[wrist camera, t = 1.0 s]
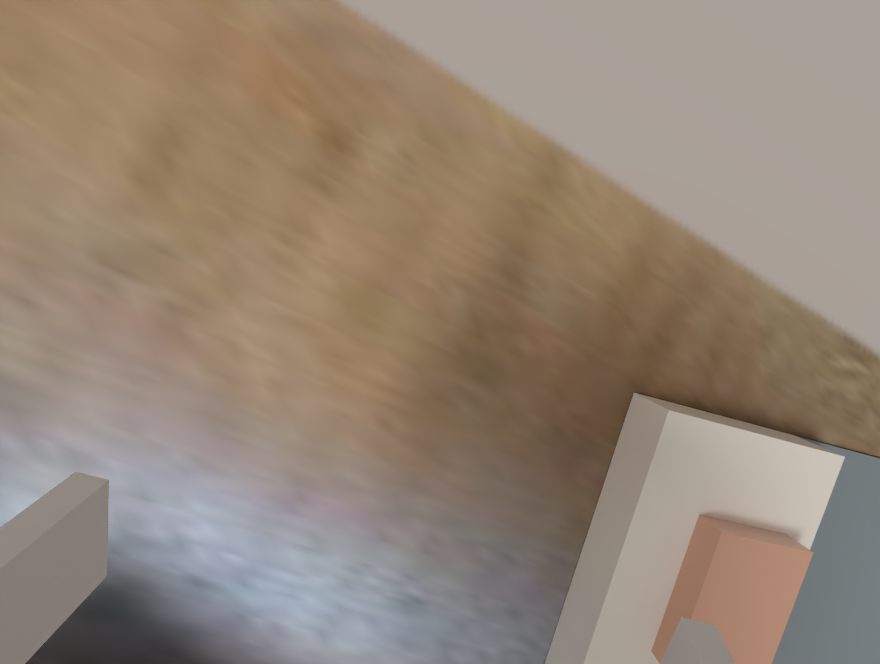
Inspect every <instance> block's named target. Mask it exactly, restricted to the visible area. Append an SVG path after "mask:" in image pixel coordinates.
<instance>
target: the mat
mask: <svg viewBox="0 0 880 664" xmlns="http://www.w3.org/2000/svg"><path fill="white" fill-rule="evenodd" d="M794 436H795V435H794ZM796 437H799V436H796ZM799 438H801V439H804V440H806V441H809V442H811V443H813V444H816V445H818V446H821V447H823V448H825V449H828V450H830V451H833V452H835V453H837V454H840V455H842V456H845V458H844V461H843V464H842V466H841V469H840V472H839V474H838V477H837V480H836V482H835V485H834V487H833V490H832V493H831V495H830V498H829V501H828V503H827V506H826V509H825V511H824V514H823V517H822V519H821V522H820V525H819V527H818V530H817V533H816V535H815V538H814V541H813V543H812V546H811V549H810V551H812V552H814V553H813V555H812V558H811V561H810V563H809V566H808V569H807V571H806V574H805V577H804V579H803V582H802V585H801V587H800V590H799V593H798V595H797V598H796V600H795V603H794V606H793V608H792V611H791V614H790V616H789V619H788V622H787V624H786V627H785V630H784V632H783V635H782V638H781V640H780V643H779V645H778V648H777V651H776V653H775V656H774V659H773V661H772V664H880V458H878V457H874V456H870V455H866V454H863V453H859V452H855V451H851V450H848V449H844V448H840V447H837V446H833V445H829V444H825V443H822V442H818V441H814V440H810V439H807V438H803V437H799Z"/></svg>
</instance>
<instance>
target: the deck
mask: <svg viewBox="0 0 880 664" xmlns="http://www.w3.org/2000/svg"><path fill="white" fill-rule="evenodd" d="M844 458H845V456H842V455H840V454H837V453H835V452H833V451H830V450H828V449H825V448H823V447H821V446H818V445H816V444H813V443H811V442H809V441H806V440H804V439H801V438H799V437H796V436H794V435H792V434H788V433H784V432H780V431H777V430H773V429H769V428H765V427H762V426H758V425H754V424H750V423H747V422H743V421H739V420H735V419H732V418H728V417H724V416H720V415H717V414H713V413H709V412H705V411H702V410H698V409H694V408H690V407H687V406H683V405H679V404H675V403H672V402H668V401H664V400H660V399H657V398H653V397H649V396H645V395H642V394H638V393H633V396H632V400H631V403H630V406H629V409H628V412H627V415H626V418H625V421H624V424H623V427H622V430H621V433H620V436H619V439H618V442H617V445H616V448H615V451H614V454H613V457H612V460H611V463H610V466H609V469H608V472H607V475H606V479H605V482H604V485H603V488H602V491H601V494H600V497H599V500H598V503H597V506H596V509H595V512H594V515H593V518H592V521H591V524H590V527H589V530H588V533H587V536H586V539H585V542H584V545H583V548H582V551H581V554H580V557H579V561H578V564H577V567H576V570H575V573H574V576H573V579H572V582H571V585H570V588H569V591H568V594H567V597H566V600H565V603H564V606H563V609H562V612H561V615H560V618H559V621H558V624H557V627H556V630H555V633H554V636H553V639H552V643H551V646H550V649H549V652H548V655H547V658H546V661H545V664H660V663H659V662H658V660H657V659H656V657H655V656H654V654H653V653H652V652H651V650H652V648H653V645H654V642H655V639H656V636H657V633H658V631H659V628H660V625H661V622H662V619H663V616H664V613H665V611H666V608H667V605H668V602H669V599H670V596H671V594H672V591H673V588H674V585H675V582H676V579H677V576H678V574H679V571H680V568H681V565H682V562H683V559H684V557H685V554H686V551H687V548H688V545H689V542H690V539H691V537H692V534H693V531H694V528H695V525H696V522H697V519H698V517H699V514H701V515H705V516H709V517H714V518H718V519H722V520H727V521H731V522H735V523H740V524H744V525H748V526H753V527H757V528H761V529H766V530H770V531H774V532H779V533H783V534H786V535H788V536H789V537H791V538H792V539H794V540H795V541H797V542H798V543H800V544H801V545H803V546H804V547H806V548H807V549H809V550H810V549H811V546H812V543H813V541H814V538H815V535H816V533H817V530H818V527H819V525H820V522H821V519H822V517H823V514H824V511H825V509H826V506H827V503H828V501H829V498H830V495H831V493H832V490H833V487H834V485H835V482H836V480H837V477H838V474H839V472H840V469H841V466H842V464H843V461H844Z"/></svg>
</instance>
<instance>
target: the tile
mask: <svg viewBox="0 0 880 664" xmlns="http://www.w3.org/2000/svg"><path fill="white" fill-rule="evenodd" d="M813 553H814V552H812V551H810V550H809V549H807V548H806V547H804V546H803V545H801V544H800V543H798V542H797V541H795V540H794V539H792V538H791V537H789V536H788V535H786V534H783V533H779V532H774V531H770V530H766V529H761V528H757V527H753V526H748V525H744V524H740V523H735V522H731V521H727V520H722V519H718V518H714V517H709V516H705V515H701V514H699V517H698V519H697V522H696V525H695V528H694V531H693V534H692V537H691V539H690V542H689V545H688V548H687V551H686V554H685V557H684V559H683V562H682V565H681V568H680V571H679V574H678V576H677V579H676V582H675V585H674V588H673V591H672V594H671V596H670V599H669V602H668V605H667V608H666V611H665V613H664V616H663V619H662V622H661V625H660V628H659V631H658V633H657V636H656V639H655V642H654V645H653V648H652V650H651V652H652V653H653V654H654V656H655V657H656V659H657V660H658V662H659V663H660V662H661V660H662V658H663V655H664V653H665V651H666V649H667V647H668V645H669V643H670V641H671V639H672V636H673V634H674V632H675V630H676V628H677V626H678V624H679V622H680V620H681V617H683V618H687V619H691V620H696V621H700V622H704V623H708V624H712V625H716V627H717V629H718V631H719V633H720V635H721V637H722V639H723V641H724V643H725V645H726V647H727V649H728V651H729V653H730V654H731V656H732V658H733V660H734V662H735V664H772V661H773V659H774V656H775V653H776V651H777V648H778V645H779V643H780V640H781V638H782V635H783V632H784V630H785V627H786V624H787V622H788V619H789V616H790V614H791V611H792V608H793V606H794V603H795V600H796V598H797V595H798V593H799V590H800V587H801V585H802V582H803V579H804V577H805V574H806V571H807V569H808V566H809V563H810V561H811V558H812V555H813Z"/></svg>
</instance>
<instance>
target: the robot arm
mask: <svg viewBox="0 0 880 664" xmlns="http://www.w3.org/2000/svg"><path fill="white" fill-rule="evenodd" d="M108 490H109V480H106V479H102V478H98V477H94V476H90V475H86V474H81V473H77V472H75V473H74V474H72V475H71V476H70V477H68V478H67V479H66V480H64V481H63V482H62V483H60V484H59V485H58V486H56V487H55V488H53V489H52V490H51V491H49V492H48V493H47V494H45V495H44V496H43V497H41V498H40V499H38V500H37V501H36V502H34V503H33V504H32V505H30V506H29V507H28V508H26V509H25V510H24V511H22V512H21V513H19V514H18V515H17V516H15V517H14V518H13V519H11V520H10V521H9V522H7V523H6V524H4V525H3V526H2V527H0V664H25V663H26V662H27V661H28V660H29V659H30V658H31V657H32V656H33V655H34V654H35V653H36V652H37V651H38V649H39V648H40V647H41V646H42V645H43V644H44V643H45V642H46V641H47V640H48V639H49V638H50V637H51V636H52V634H53V633H54V632H55V631H56V630H57V629H58V628H59V627H60V626H61V625H62V624H63V623H64V622H65V621H66V619H67V618H68V617H69V616H70V615H71V614H72V613H73V612H74V611H75V610H76V609H77V608H78V607H79V606H80V604H81V603H82V602H83V601H84V600H85V599H86V598H87V597H88V596H89V595H90V594H91V593H92V592H93V590H94V589H95V588H96V587H97V586H98V585H99V584H100V583H101V582H102V581H103V580H104V579H105V578H106V577H107V545H108ZM660 664H735V662H734V660H733V658H732V656H731V654H730V653H729V651H728V649H727V647H726V645H725V643H724V641H723V639H722V637H721V635H720V633H719V631H718V629H717V627H716V625H712V624H708V623H704V622H700V621H696V620H691V619H687V618H683V617H681V620H680V622H679V624H678V626H677V628H676V630H675V632H674V634H673V636H672V639H671V641H670V643H669V645H668V647H667V649H666V651H665V653H664V655H663V658H662V660H661V662H660Z"/></svg>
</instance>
